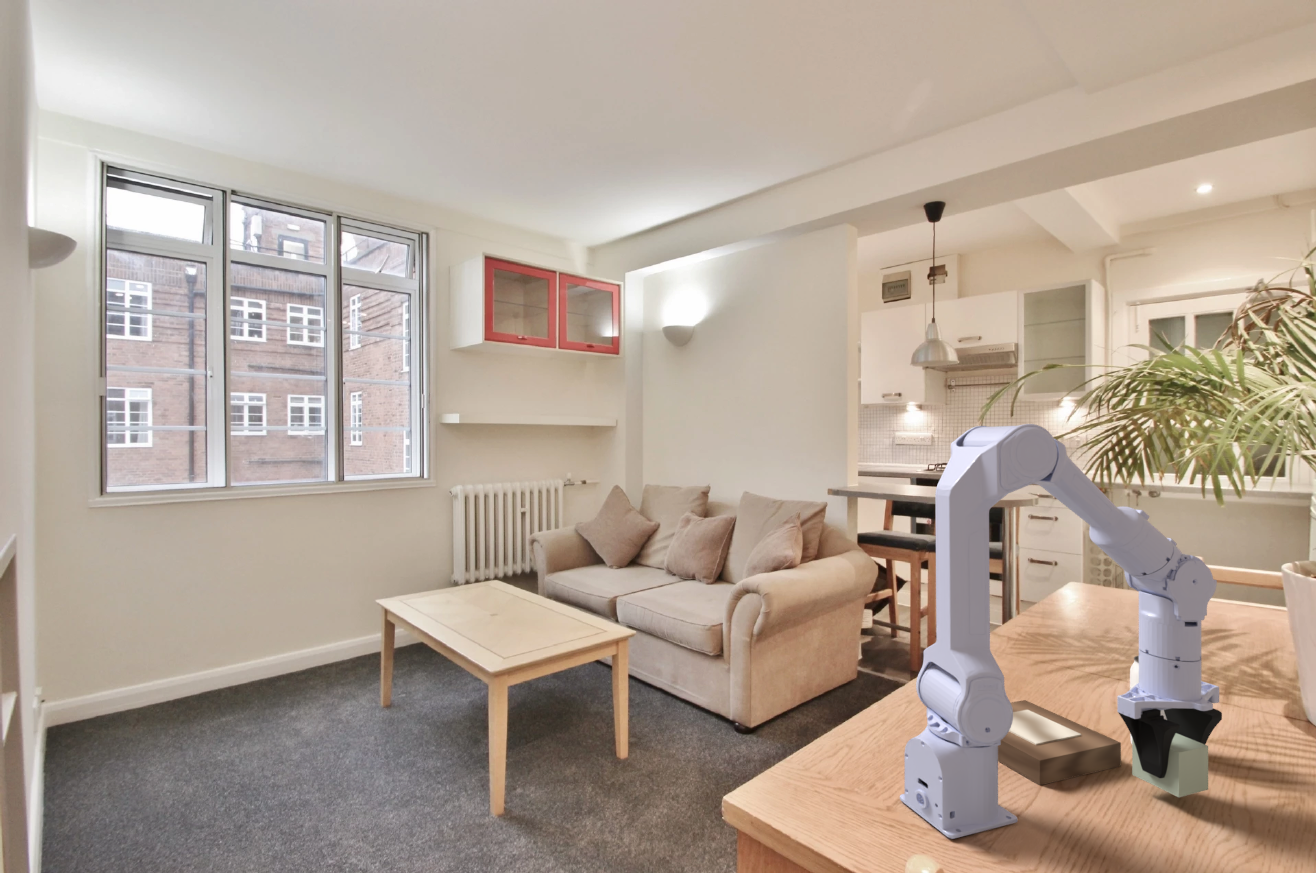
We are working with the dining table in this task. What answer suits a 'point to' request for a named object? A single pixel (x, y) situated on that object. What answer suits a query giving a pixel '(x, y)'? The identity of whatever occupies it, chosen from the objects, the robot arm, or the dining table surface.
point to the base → (1054, 746)
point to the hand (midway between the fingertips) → (1169, 769)
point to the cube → (1179, 767)
